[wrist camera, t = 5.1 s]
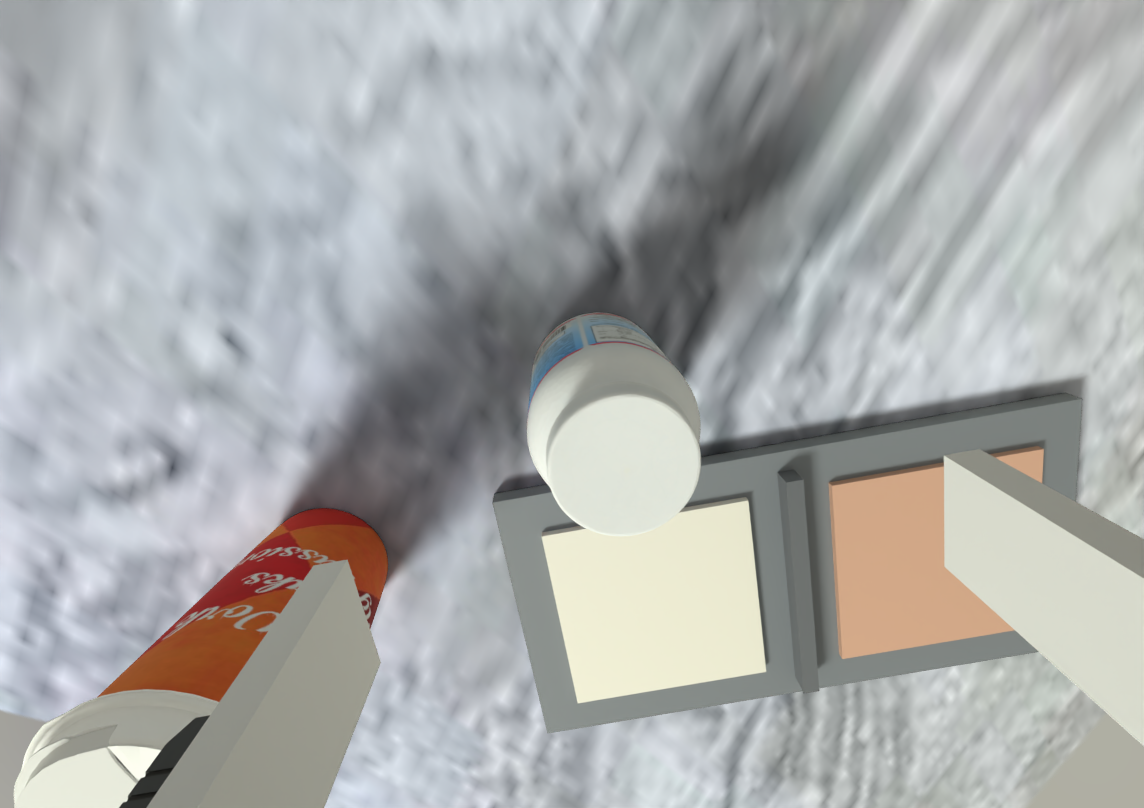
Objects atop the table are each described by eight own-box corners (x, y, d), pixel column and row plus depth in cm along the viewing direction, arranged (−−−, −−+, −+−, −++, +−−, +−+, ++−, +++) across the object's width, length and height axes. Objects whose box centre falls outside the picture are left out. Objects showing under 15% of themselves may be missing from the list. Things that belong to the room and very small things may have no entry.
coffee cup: (443, 543, 31) (349, 820, 17) (358, 655, 33) (209, 990, 19) (294, 453, 30) (55, 675, 16) (214, 576, 32) (-68, 876, 17)
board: (494, 493, 31) (489, 514, 29) (1065, 392, 30) (1104, 406, 28) (547, 719, 35) (547, 751, 33) (1051, 635, 34) (1084, 663, 32)
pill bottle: (562, 454, 30) (567, 587, 20) (511, 340, 29) (486, 416, 18) (680, 408, 30) (752, 518, 19) (635, 289, 28) (686, 336, 17)
